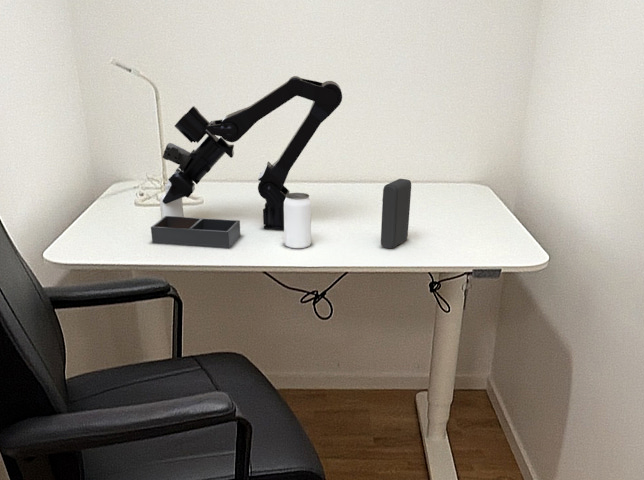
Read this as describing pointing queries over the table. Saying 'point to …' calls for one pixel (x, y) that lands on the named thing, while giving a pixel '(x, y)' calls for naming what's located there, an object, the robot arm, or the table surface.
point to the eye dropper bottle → (171, 205)
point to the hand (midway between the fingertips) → (165, 200)
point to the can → (297, 220)
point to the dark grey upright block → (395, 212)
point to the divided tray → (196, 231)
